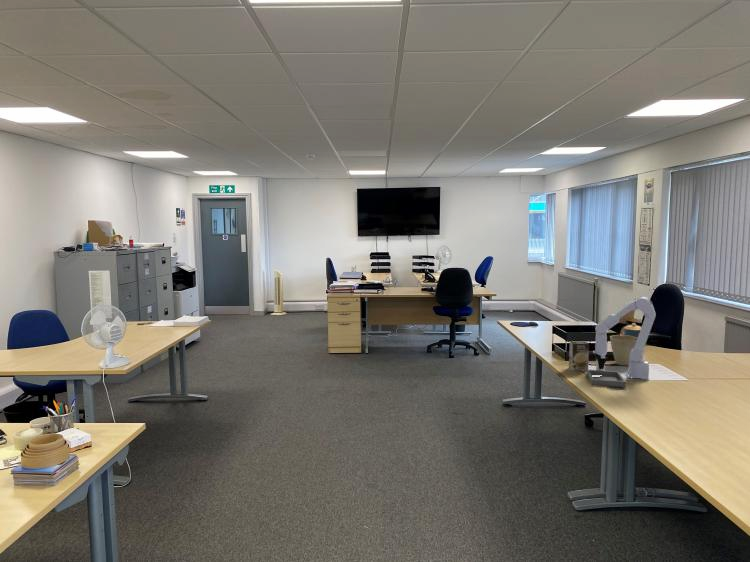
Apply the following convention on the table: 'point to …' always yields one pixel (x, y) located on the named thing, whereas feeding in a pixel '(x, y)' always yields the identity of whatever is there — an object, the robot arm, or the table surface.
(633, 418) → the table surface
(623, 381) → the tray
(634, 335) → the canister
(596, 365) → the cylinder
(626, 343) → the plant pot
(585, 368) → the coffee box
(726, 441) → the table surface
